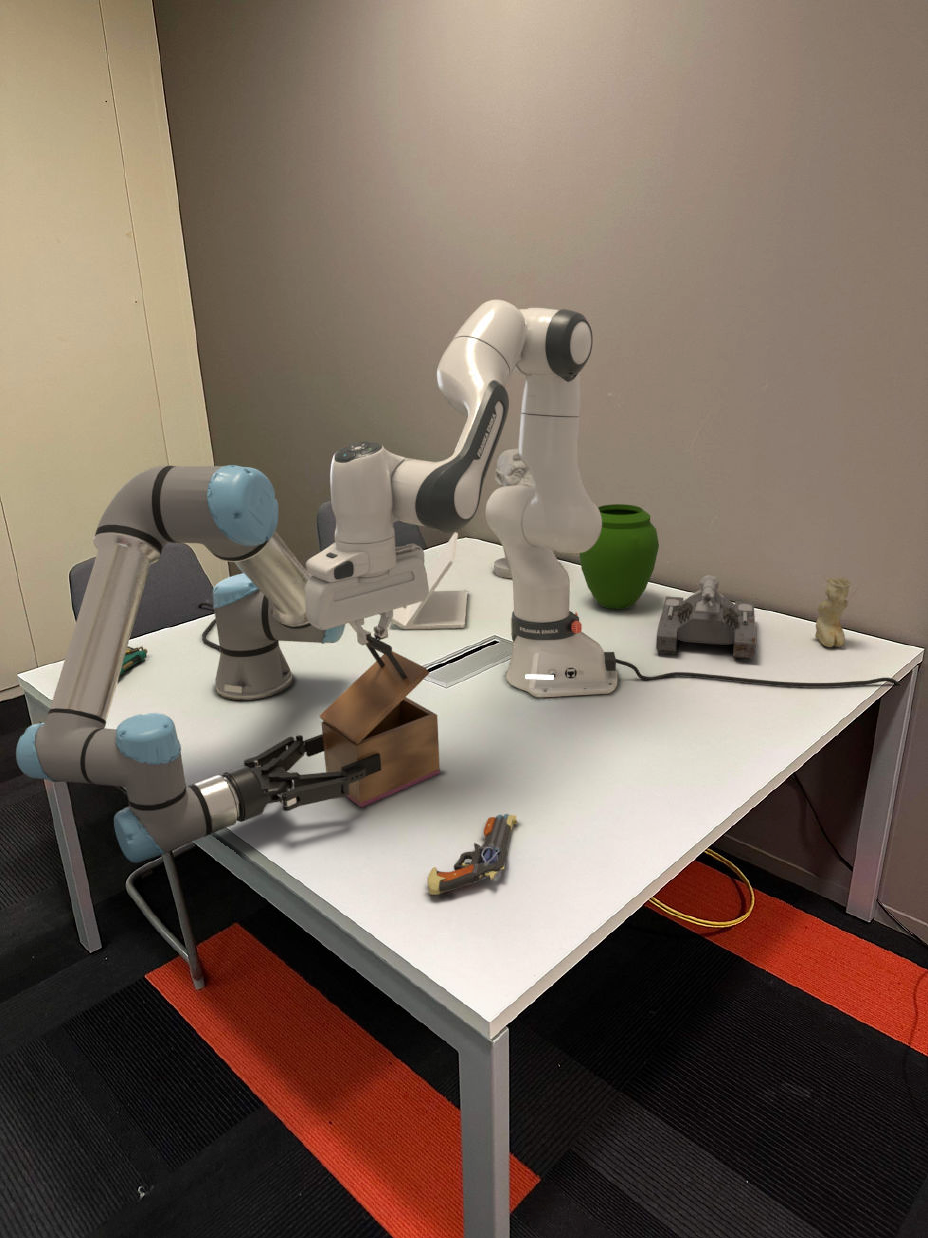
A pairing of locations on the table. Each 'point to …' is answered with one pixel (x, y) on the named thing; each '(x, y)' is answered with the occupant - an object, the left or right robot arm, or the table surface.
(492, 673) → the table surface
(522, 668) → the right robot arm
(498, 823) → the toy gun
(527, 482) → the bust sculpture
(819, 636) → the sculpture
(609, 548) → the vase
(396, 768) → the chest
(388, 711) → the lid
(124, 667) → the spray gun
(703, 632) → the toy
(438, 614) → the tablet stand
